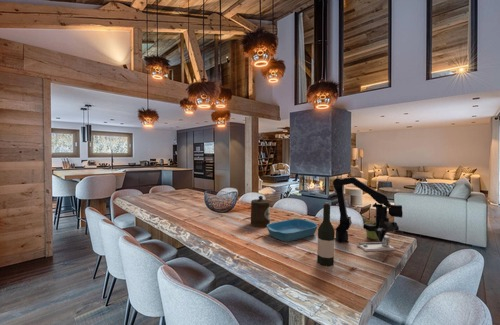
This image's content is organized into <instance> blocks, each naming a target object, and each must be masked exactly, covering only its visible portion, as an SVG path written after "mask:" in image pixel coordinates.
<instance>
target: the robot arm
mask: <svg viewBox="0 0 500 325" xmlns="http://www.w3.org/2000/svg"><path fill="white" fill-rule="evenodd" d="M351 184H352V185H353V186H355V187H357V189H360V190H362V191H363V193H366V194H368V195H369V196H370V197H371V199H373V200H374V201H375V203H373V204H372V205H371V206H372V208H375V215H374V218H375V222H373V223H374V224H375V225H372V224H365V223H364V224H363V230H365V231H366V230H368V231H375V233H376V235H377V237H378V238H377V239H378V242H382V240H383V238H384V236H386V234H387V233H390V232H394V231H395V232H396V231H399V228H400V227H399V225H398V223H397V222H396V221H390V220H389V217H388V215H389V216H390V217H393V218H401V219H402V218H403V216H404V215H403V213H404V212H403V206H402V205H401V204H397V205H396V204H391V202H390V201H389V200H388V195H387V194H385V193H384V192H382V191H379V190H376V189H373V188H372V187H371V186H369V185H367V184H365V183H364V182H362V181H361V180H360V179H358V178H356V177H355V176H351V177H345V178H342V177H337V178H335V179H333V181H332V185H333V188H334V190H335V192H336V193H335V194H336V197H337V203H338V208H339V209H338V210H339V224H337V226H336V228H335V237H334V241H337V242H338V243H350V241H349V232H348V230H349V229H350V227H351V225H352V223H353V222H352V217H351V216H349V215H348V212H347V206H346V199H345V195H344V191H345V189H344V188H345V186H347V185H351Z"/></svg>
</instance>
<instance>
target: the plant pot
mask: <svg viewBox="0 0 500 325" xmlns="http://www.w3.org/2000/svg"><path fill="white" fill-rule="evenodd" d="M374 223H375V222H364V224H372V225H375V224H374ZM365 232H366V238H367V239H372V240H377V239H378V237H377V235H376V233H375V231H368V230H366V229H365Z"/></svg>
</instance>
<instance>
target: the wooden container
mask: <svg viewBox="0 0 500 325" xmlns="http://www.w3.org/2000/svg"><path fill="white" fill-rule="evenodd" d="M263 198H264V196H262V195H260V196H258V198H257V199H251V202H250V203H251V204H250V205H251V206H250V226H253V227H255V228H267V225H268V224H270V223H271V200H269V199H263Z"/></svg>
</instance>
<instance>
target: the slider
mask: <svg viewBox="0 0 500 325" xmlns="http://www.w3.org/2000/svg"><path fill="white" fill-rule="evenodd" d="M381 244H382V245H384V246H391V237H390V236H388V235H385V236H384V238H383V240H382V242H381Z"/></svg>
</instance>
